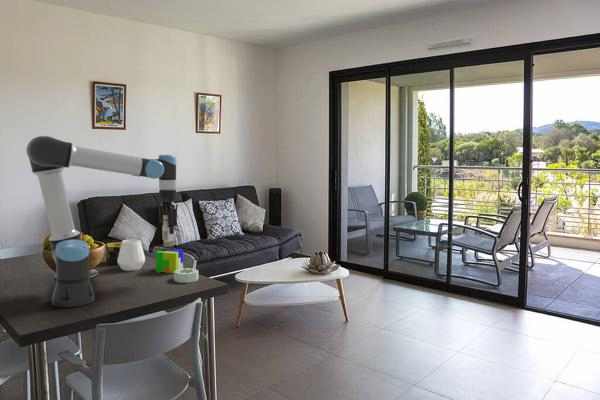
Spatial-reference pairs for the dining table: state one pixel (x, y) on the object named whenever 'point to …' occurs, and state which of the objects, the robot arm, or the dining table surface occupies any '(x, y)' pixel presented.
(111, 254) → the candle
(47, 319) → the dining table surface
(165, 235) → the striped rounded cylinder
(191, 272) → the bead
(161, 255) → the puzzle toy
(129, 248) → the cup
